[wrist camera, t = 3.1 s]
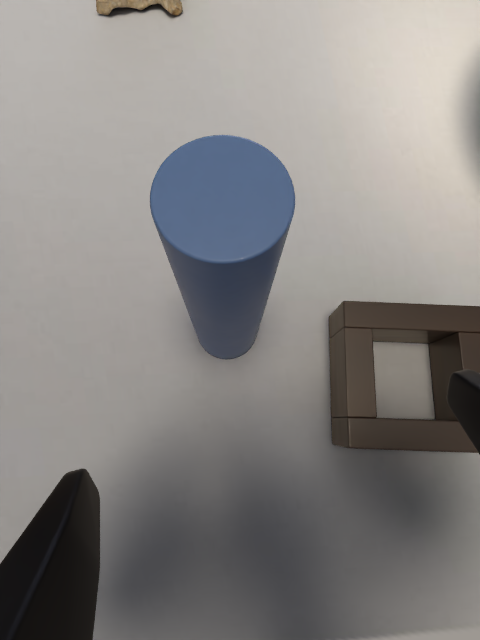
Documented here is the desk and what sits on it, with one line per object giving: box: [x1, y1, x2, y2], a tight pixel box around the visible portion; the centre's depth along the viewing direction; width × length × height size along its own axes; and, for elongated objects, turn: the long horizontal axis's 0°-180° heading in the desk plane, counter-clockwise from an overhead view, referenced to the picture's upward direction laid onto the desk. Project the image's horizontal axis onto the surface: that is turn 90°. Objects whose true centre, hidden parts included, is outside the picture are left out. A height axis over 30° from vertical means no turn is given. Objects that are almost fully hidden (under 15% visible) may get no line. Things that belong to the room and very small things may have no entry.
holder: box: [329, 301, 480, 453], centre depth 20 cm, size 7×7×3 cm
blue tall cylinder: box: [150, 135, 295, 359], centre depth 16 cm, size 3×3×14 cm
